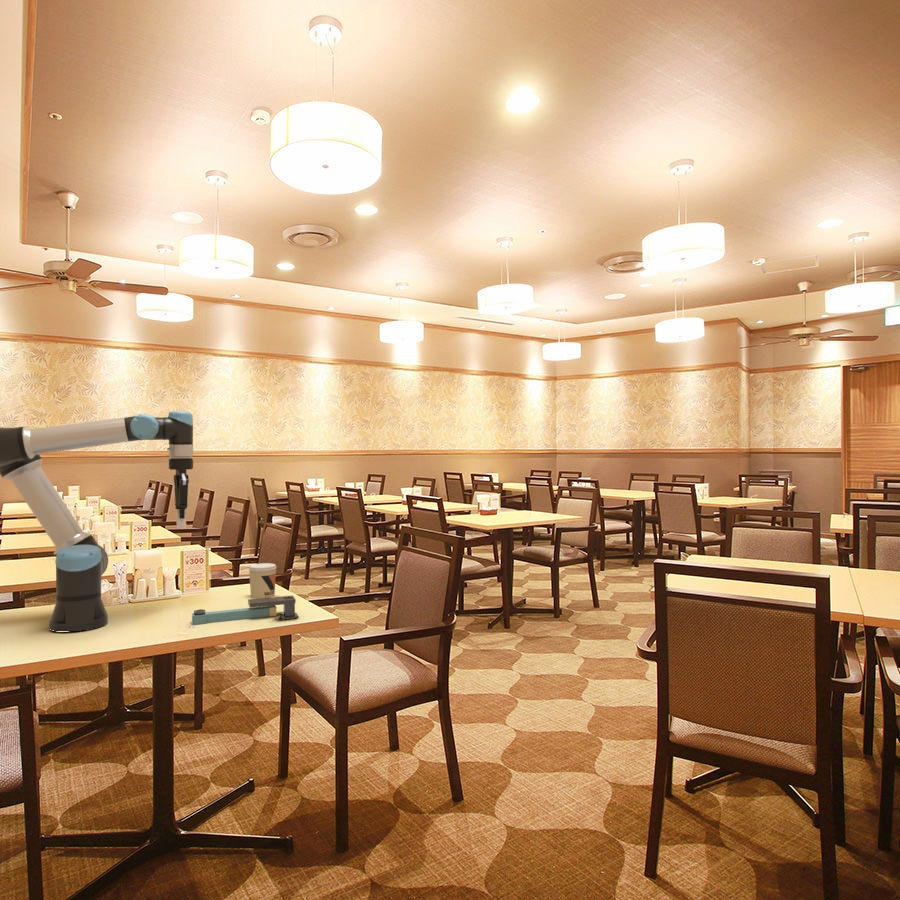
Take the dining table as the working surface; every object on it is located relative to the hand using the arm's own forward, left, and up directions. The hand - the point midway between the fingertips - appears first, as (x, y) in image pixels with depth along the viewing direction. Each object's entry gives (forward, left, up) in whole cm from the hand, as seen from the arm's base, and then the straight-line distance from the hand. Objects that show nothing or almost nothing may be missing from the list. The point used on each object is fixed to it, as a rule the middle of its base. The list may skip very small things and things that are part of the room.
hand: (181, 528), depth 214 cm
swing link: (+10, -30, -25) cm, 41 cm away
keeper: (+21, -33, -26) cm, 47 cm away
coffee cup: (+26, -4, -27) cm, 37 cm away
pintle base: (0, -29, -26) cm, 39 cm away
